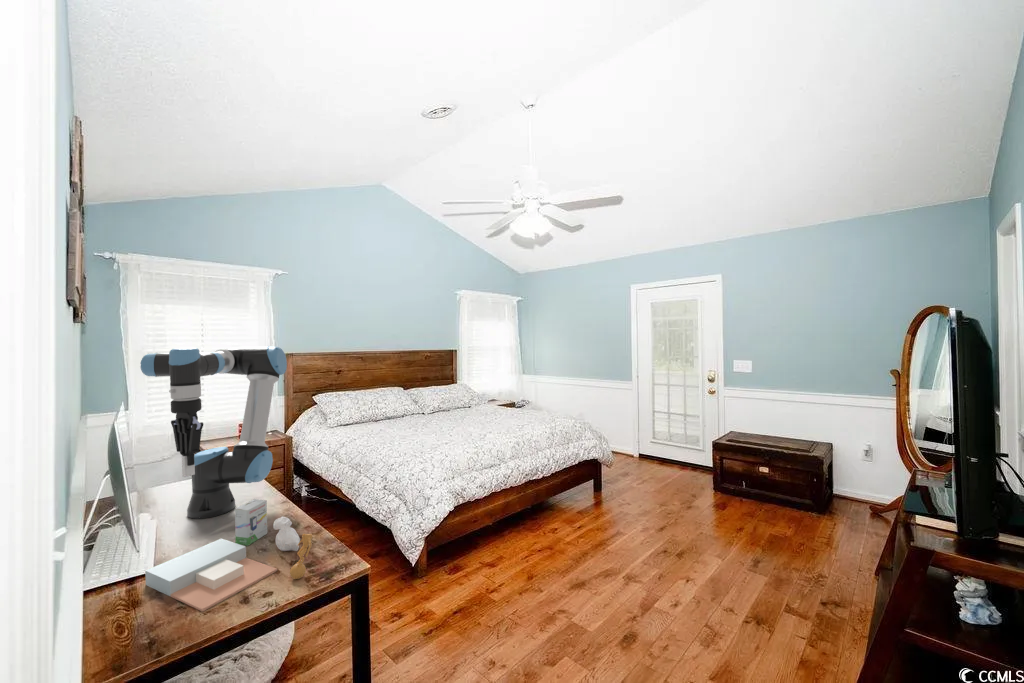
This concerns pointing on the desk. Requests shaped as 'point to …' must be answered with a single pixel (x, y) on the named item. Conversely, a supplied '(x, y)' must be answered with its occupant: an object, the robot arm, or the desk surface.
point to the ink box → (250, 521)
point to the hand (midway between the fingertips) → (188, 475)
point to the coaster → (219, 574)
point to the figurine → (301, 557)
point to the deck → (191, 565)
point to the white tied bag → (286, 535)
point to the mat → (223, 586)
